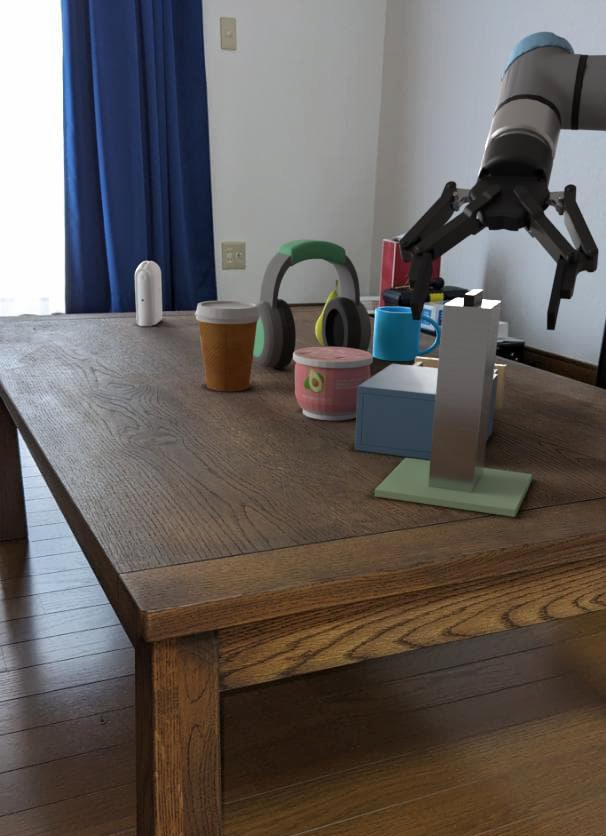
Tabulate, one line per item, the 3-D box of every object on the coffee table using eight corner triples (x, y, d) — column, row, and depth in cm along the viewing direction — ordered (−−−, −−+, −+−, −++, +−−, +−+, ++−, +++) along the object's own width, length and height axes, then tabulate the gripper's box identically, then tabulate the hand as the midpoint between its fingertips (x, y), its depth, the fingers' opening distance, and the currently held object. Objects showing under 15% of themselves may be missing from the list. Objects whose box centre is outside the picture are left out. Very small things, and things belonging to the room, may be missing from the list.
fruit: (317, 350, 163) (319, 282, 158) (312, 345, 168) (314, 278, 164) (348, 350, 164) (351, 283, 159) (342, 345, 169) (345, 279, 164)
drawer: (420, 391, 130) (424, 351, 128) (506, 400, 126) (511, 359, 124) (388, 419, 115) (391, 374, 113) (484, 430, 111) (489, 384, 109)
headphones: (268, 375, 142) (269, 242, 135) (243, 362, 151) (244, 237, 144) (373, 368, 150) (380, 242, 142) (344, 356, 159) (349, 237, 151)
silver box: (482, 475, 95) (502, 290, 87) (471, 492, 89) (492, 297, 82) (440, 470, 96) (457, 287, 89) (427, 486, 91) (443, 293, 84)
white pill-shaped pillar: (155, 326, 183) (153, 263, 178) (134, 326, 183) (131, 263, 178) (164, 319, 192) (162, 259, 187) (144, 318, 192) (142, 258, 187)
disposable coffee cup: (217, 377, 140) (216, 298, 135) (271, 384, 136) (272, 303, 131) (183, 389, 132) (181, 305, 127) (239, 397, 128) (239, 311, 123)
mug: (370, 359, 157) (372, 311, 154) (375, 351, 164) (377, 305, 161) (439, 363, 155) (443, 315, 152) (441, 355, 162) (445, 309, 159)
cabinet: (388, 421, 118) (391, 363, 115) (491, 433, 113) (498, 374, 110) (354, 450, 105) (357, 386, 102) (469, 465, 101) (476, 398, 98)
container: (280, 406, 123) (281, 348, 120) (349, 401, 127) (352, 344, 124) (309, 425, 114) (311, 363, 111) (383, 420, 118) (386, 359, 115)
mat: (531, 481, 96) (532, 474, 96) (515, 517, 86) (516, 509, 85) (404, 464, 100) (405, 457, 100) (374, 496, 90) (374, 489, 90)
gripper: (636, 186, 97) (608, 349, 89) (410, 181, 104) (367, 330, 97) (643, 129, 90) (614, 300, 82) (402, 128, 98) (355, 284, 90)
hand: (481, 317), depth 90 cm, fingers open, 13 cm apart
